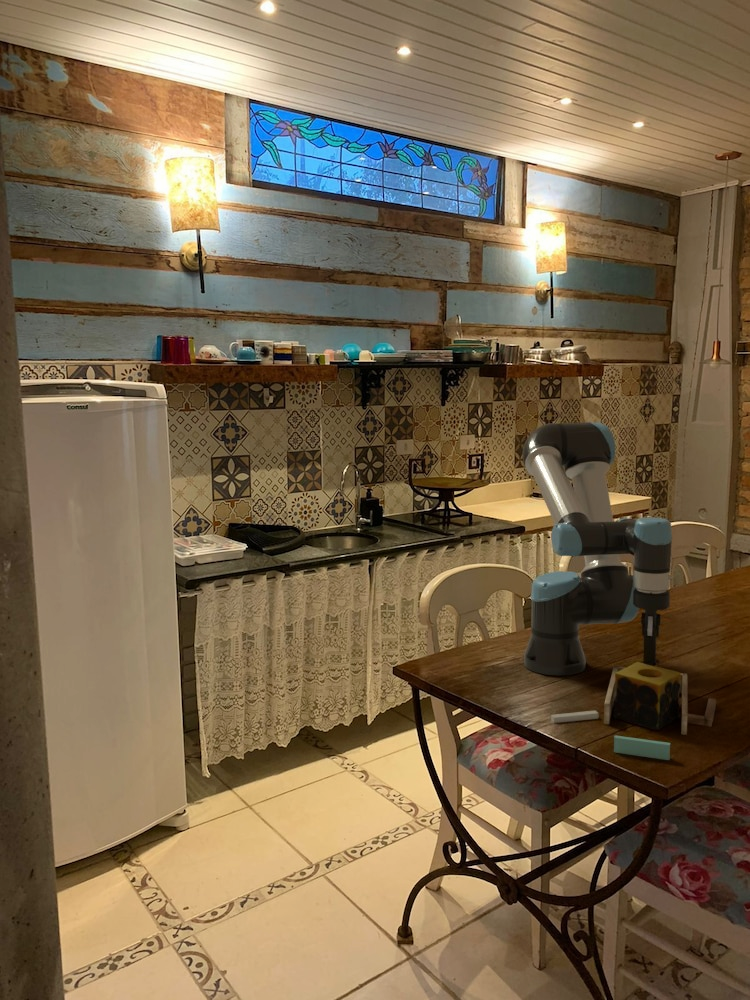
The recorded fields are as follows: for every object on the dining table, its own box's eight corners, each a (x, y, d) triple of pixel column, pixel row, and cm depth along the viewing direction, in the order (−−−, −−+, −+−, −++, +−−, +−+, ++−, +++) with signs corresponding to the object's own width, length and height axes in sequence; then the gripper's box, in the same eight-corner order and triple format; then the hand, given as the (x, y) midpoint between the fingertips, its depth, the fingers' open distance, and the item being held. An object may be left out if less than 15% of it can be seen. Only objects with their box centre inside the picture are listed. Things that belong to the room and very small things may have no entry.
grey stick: (551, 721, 165) (551, 714, 165) (595, 717, 167) (595, 710, 166) (553, 724, 163) (553, 717, 163) (598, 720, 165) (598, 713, 165)
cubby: (604, 723, 162) (604, 703, 162) (613, 684, 183) (613, 666, 183) (686, 734, 156) (687, 713, 156) (686, 692, 178) (687, 673, 177)
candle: (611, 718, 165) (613, 673, 164) (634, 704, 172) (636, 660, 171) (658, 732, 158) (659, 685, 156) (680, 717, 165) (681, 671, 163)
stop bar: (613, 752, 150) (614, 737, 149) (614, 750, 151) (614, 735, 150) (669, 760, 146) (670, 745, 146) (669, 757, 147) (670, 742, 146)
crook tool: (686, 723, 162) (686, 716, 162) (692, 702, 173) (692, 695, 172) (711, 727, 160) (711, 720, 160) (715, 705, 170) (716, 699, 170)
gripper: (669, 597, 163) (666, 705, 166) (670, 583, 174) (667, 684, 178) (631, 595, 165) (629, 701, 168) (635, 581, 177) (632, 680, 180)
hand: (649, 692), depth 173 cm, fingers closed
